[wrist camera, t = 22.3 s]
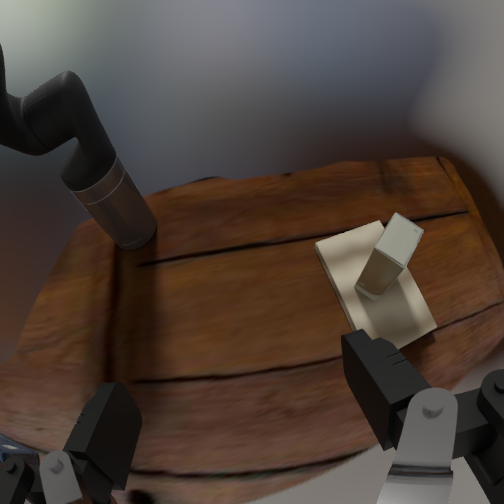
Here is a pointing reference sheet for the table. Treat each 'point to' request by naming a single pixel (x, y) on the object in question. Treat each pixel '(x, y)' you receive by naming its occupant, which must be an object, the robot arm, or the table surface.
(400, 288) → the birch board
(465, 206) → the table surface
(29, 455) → the vhs cassette tape
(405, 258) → the skincare box
